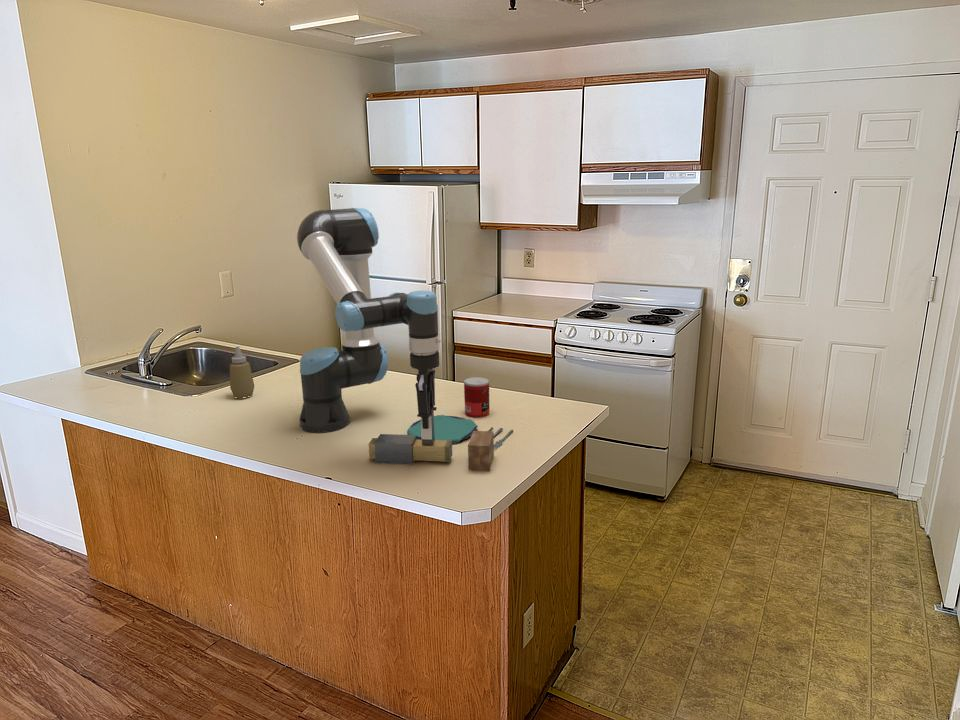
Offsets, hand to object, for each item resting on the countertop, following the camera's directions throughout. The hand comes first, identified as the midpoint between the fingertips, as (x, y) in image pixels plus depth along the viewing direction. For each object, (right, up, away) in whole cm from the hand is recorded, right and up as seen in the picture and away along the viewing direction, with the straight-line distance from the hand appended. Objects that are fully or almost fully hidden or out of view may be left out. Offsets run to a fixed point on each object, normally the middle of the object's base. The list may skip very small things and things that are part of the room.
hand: (428, 436), depth 182 cm
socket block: (+14, -7, 0) cm, 16 cm away
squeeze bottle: (-69, +7, +57) cm, 90 cm away
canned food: (+13, +3, +36) cm, 39 cm away
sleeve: (-9, -7, +3) cm, 11 cm away
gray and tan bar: (-5, -7, +3) cm, 9 cm away
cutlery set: (+7, -2, +19) cm, 21 cm away
